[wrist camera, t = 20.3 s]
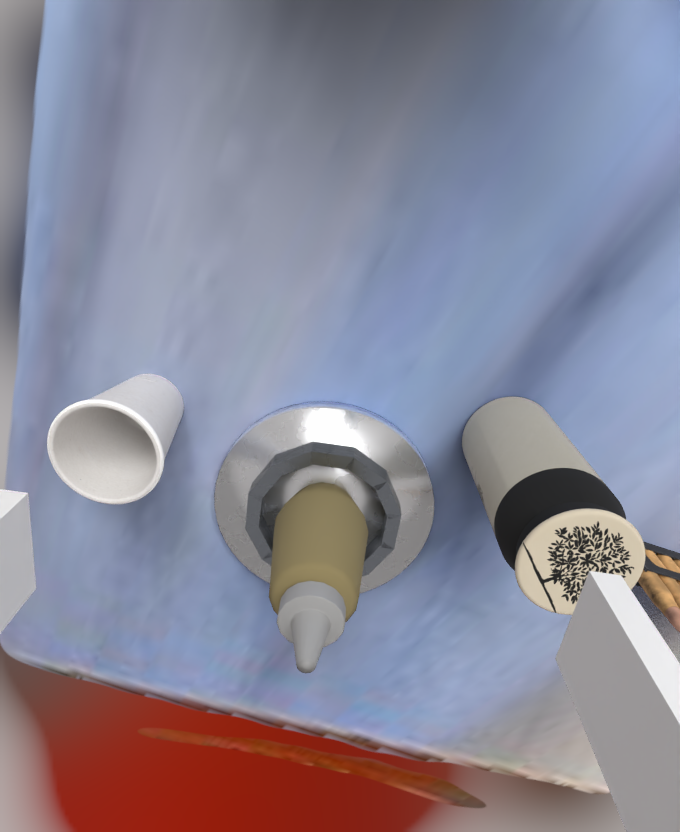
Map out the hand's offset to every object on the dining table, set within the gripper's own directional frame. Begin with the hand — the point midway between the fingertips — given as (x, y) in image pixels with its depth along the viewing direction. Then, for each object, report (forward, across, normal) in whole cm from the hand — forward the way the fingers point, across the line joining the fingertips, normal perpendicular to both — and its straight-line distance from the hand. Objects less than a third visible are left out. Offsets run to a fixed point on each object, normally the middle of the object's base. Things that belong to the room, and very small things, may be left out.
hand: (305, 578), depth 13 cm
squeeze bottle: (+33, +1, -19) cm, 38 cm away
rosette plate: (+35, +1, -19) cm, 40 cm away
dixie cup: (+35, -15, -12) cm, 40 cm away
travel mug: (+35, +16, -10) cm, 40 cm away
